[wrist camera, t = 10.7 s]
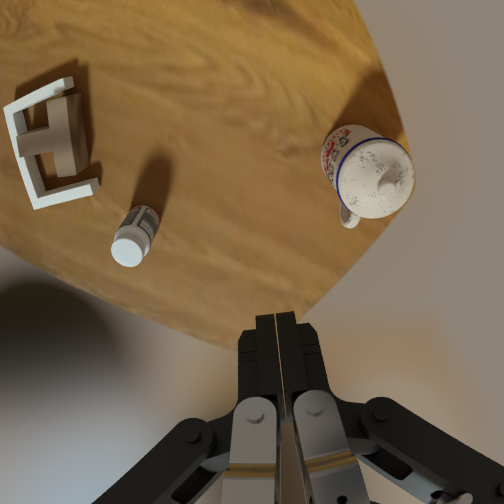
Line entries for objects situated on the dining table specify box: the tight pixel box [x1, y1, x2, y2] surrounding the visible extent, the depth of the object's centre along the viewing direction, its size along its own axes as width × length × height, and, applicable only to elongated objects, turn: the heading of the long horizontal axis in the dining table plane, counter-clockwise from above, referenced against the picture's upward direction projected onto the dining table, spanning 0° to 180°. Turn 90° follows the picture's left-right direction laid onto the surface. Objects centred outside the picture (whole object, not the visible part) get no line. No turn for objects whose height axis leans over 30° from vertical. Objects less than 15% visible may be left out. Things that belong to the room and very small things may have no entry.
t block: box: [16, 93, 90, 177], centre depth 32 cm, size 10×9×4 cm
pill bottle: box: [111, 205, 160, 267], centre depth 38 cm, size 5×5×8 cm
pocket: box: [3, 76, 100, 210], centre depth 33 cm, size 16×11×2 cm
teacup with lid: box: [321, 124, 414, 228], centre depth 33 cm, size 12×9×12 cm
